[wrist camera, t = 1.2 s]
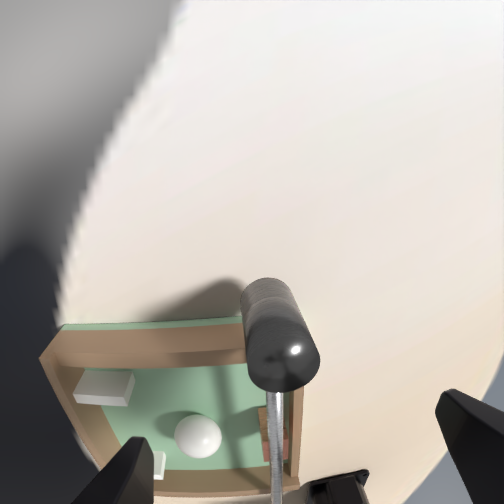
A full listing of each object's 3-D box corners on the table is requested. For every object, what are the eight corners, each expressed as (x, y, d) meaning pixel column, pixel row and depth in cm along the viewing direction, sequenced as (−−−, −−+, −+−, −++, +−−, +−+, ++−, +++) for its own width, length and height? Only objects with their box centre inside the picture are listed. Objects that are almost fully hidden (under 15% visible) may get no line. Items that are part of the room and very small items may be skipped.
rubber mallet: (287, 472, 23) (299, 532, 16) (257, 475, 22) (265, 536, 16) (287, 265, 17) (321, 332, 10) (237, 270, 16) (244, 341, 10)
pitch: (292, 460, 24) (300, 495, 20) (130, 466, 23) (123, 498, 19) (296, 310, 19) (313, 348, 15) (64, 324, 18) (38, 358, 14)
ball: (224, 432, 21) (224, 465, 18) (181, 433, 20) (178, 466, 17) (218, 404, 20) (218, 439, 17) (172, 405, 19) (166, 440, 16)
